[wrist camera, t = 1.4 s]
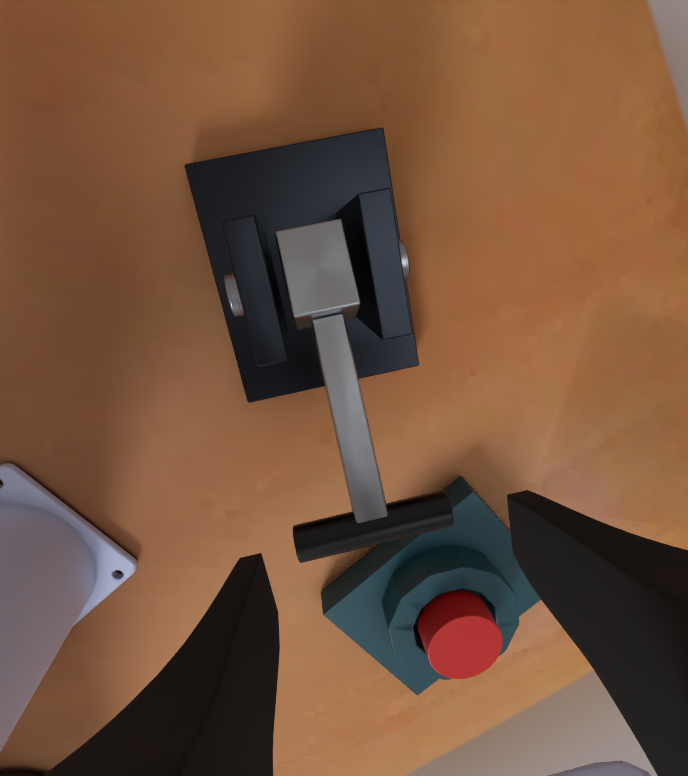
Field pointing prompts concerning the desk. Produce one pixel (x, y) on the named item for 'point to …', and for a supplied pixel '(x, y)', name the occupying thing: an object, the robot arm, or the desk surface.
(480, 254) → the desk surface
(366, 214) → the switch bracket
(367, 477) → the switch lever
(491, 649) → the power button
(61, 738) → the desk surface
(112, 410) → the desk surface
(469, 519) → the button box
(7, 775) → the ink bottle
